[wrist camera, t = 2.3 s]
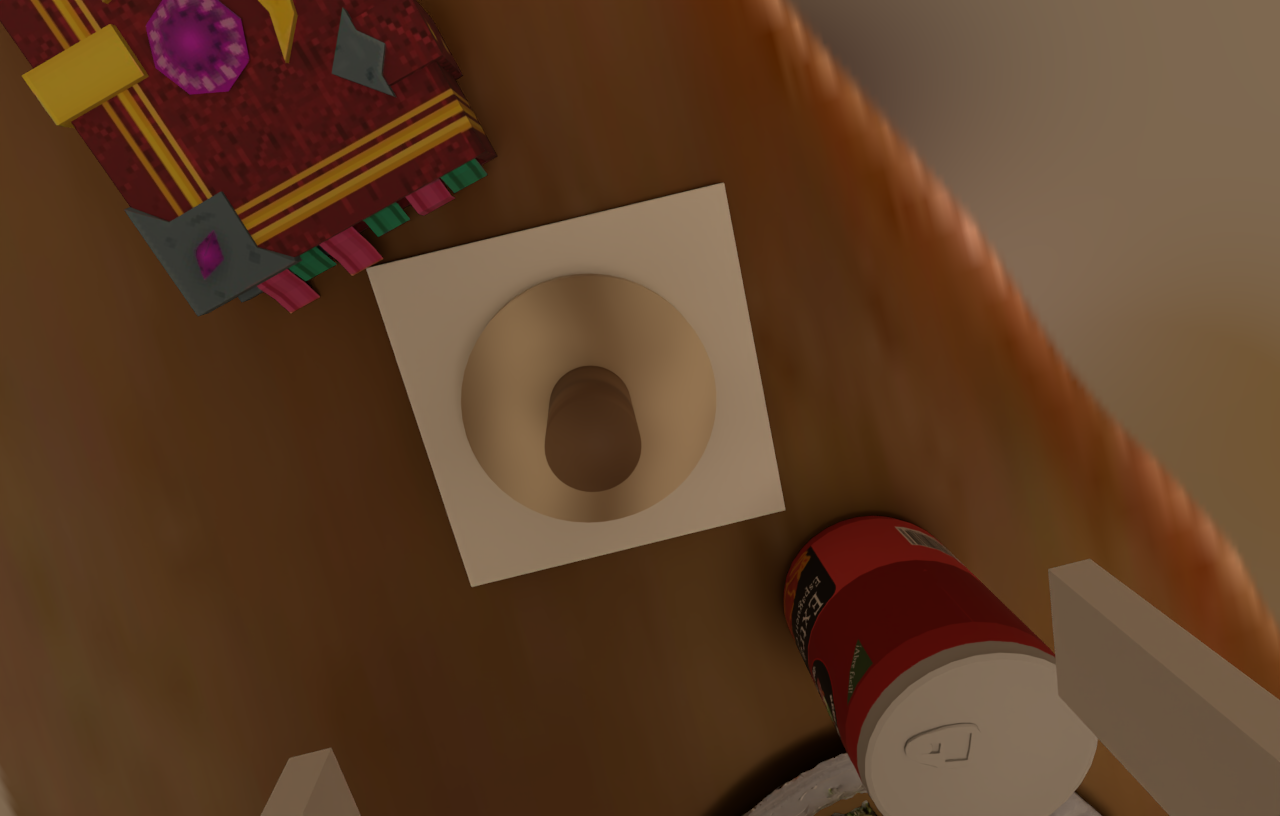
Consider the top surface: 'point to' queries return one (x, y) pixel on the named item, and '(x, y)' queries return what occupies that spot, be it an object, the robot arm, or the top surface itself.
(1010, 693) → the canned food
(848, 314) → the top surface
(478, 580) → the mat
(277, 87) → the decorative book
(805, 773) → the food plate
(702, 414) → the lid
